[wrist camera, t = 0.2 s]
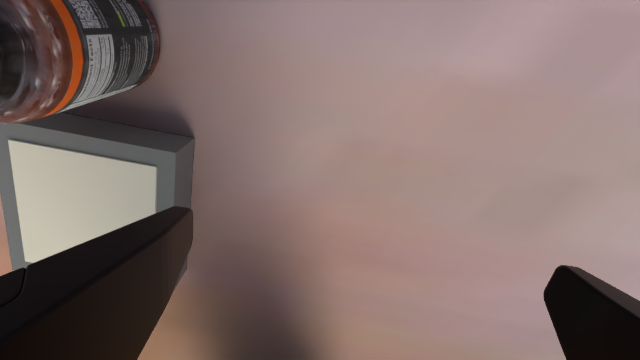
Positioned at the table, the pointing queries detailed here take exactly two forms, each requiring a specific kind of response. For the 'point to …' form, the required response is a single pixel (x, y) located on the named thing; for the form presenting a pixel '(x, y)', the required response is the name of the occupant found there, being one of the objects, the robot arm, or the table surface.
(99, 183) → the plinth
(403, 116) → the table surface
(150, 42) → the supplement bottle
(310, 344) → the table surface
